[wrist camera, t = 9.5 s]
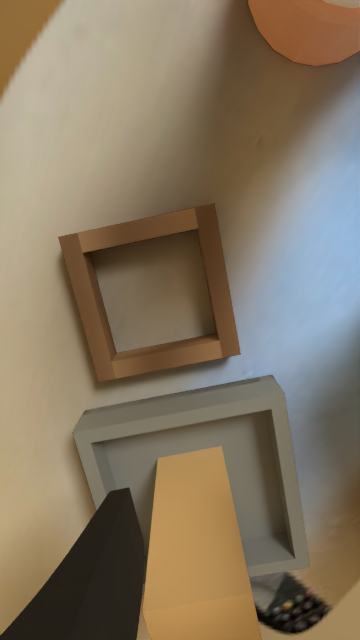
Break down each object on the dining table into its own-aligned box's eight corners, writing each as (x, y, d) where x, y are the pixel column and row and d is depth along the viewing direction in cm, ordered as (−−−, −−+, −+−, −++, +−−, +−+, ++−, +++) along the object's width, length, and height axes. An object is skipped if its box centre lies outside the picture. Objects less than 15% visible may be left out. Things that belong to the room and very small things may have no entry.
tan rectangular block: (221, 446, 21) (251, 593, 12) (233, 500, 22) (269, 675, 13) (157, 458, 21) (142, 612, 12) (171, 512, 22) (166, 691, 13)
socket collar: (211, 206, 18) (214, 203, 17) (236, 346, 20) (240, 354, 19) (67, 237, 19) (58, 237, 17) (104, 372, 20) (98, 382, 19)
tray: (271, 374, 21) (284, 392, 18) (296, 532, 23) (310, 567, 21) (84, 410, 21) (72, 432, 19) (129, 561, 24) (123, 598, 21)
